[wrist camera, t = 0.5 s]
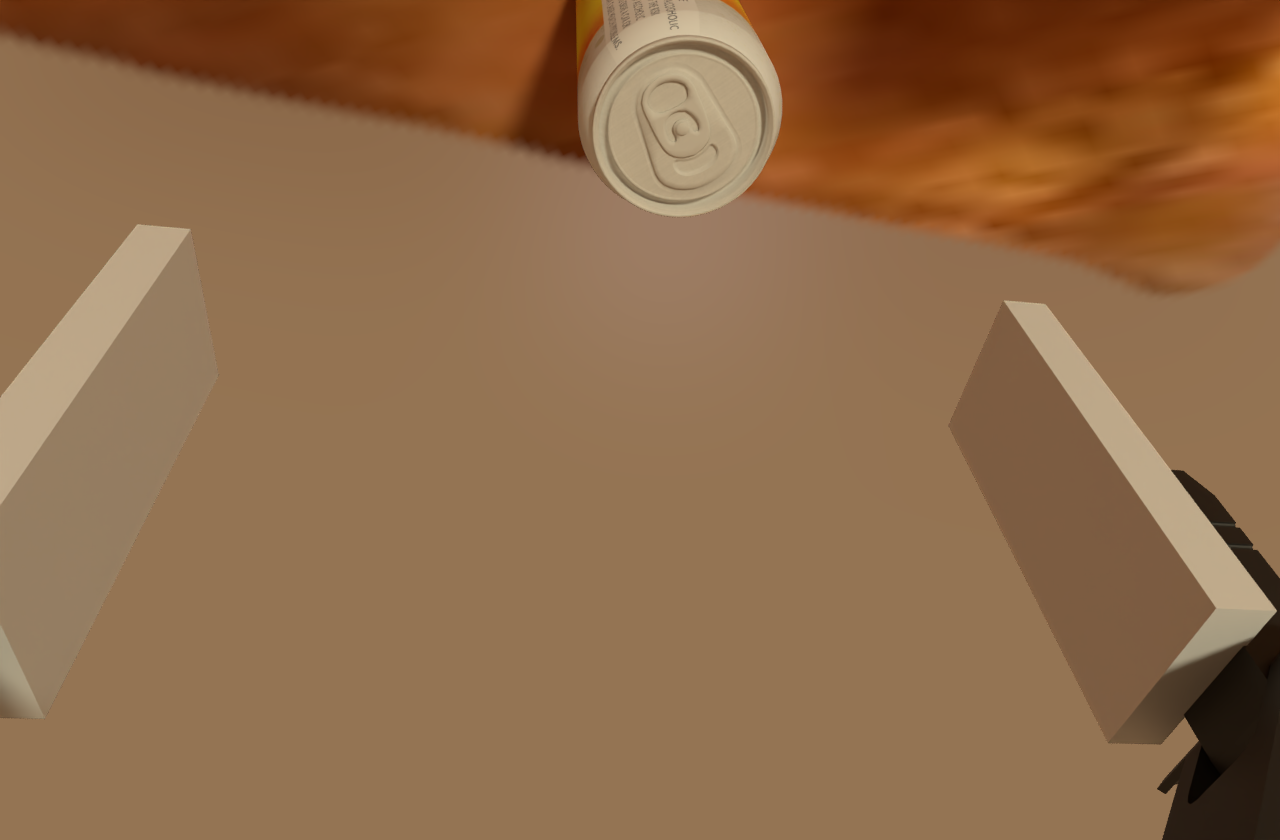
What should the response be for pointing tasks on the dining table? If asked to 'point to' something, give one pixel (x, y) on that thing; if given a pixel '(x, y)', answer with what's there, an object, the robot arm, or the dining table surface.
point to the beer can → (674, 101)
